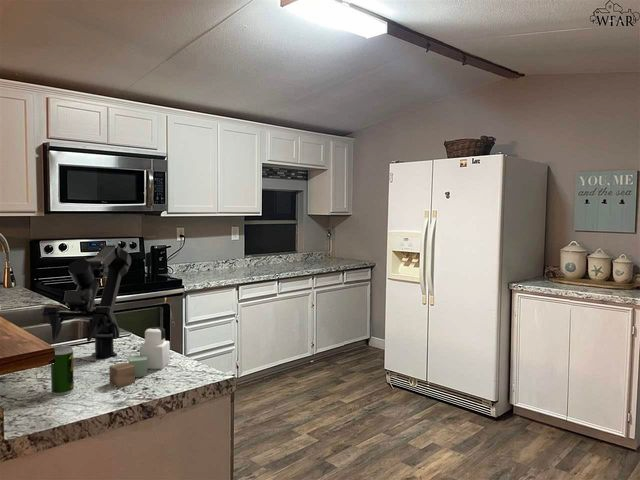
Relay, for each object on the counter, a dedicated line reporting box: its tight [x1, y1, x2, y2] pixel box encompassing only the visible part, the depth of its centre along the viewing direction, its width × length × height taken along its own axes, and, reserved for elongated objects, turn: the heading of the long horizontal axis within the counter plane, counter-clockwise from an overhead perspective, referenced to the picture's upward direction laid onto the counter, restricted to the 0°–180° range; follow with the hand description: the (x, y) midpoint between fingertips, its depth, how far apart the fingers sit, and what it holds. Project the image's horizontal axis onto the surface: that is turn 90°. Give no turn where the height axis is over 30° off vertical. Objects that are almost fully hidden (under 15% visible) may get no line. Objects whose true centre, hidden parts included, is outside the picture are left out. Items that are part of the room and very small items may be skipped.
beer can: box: [50, 345, 75, 396], centre depth 134 cm, size 5×5×12 cm
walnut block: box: [109, 361, 136, 388], centre depth 142 cm, size 5×5×5 cm
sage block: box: [128, 354, 148, 378], centre depth 150 cm, size 5×5×5 cm
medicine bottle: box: [139, 326, 171, 370], centre depth 158 cm, size 7×7×12 cm
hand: (70, 340), depth 140 cm, fingers open, 9 cm apart
